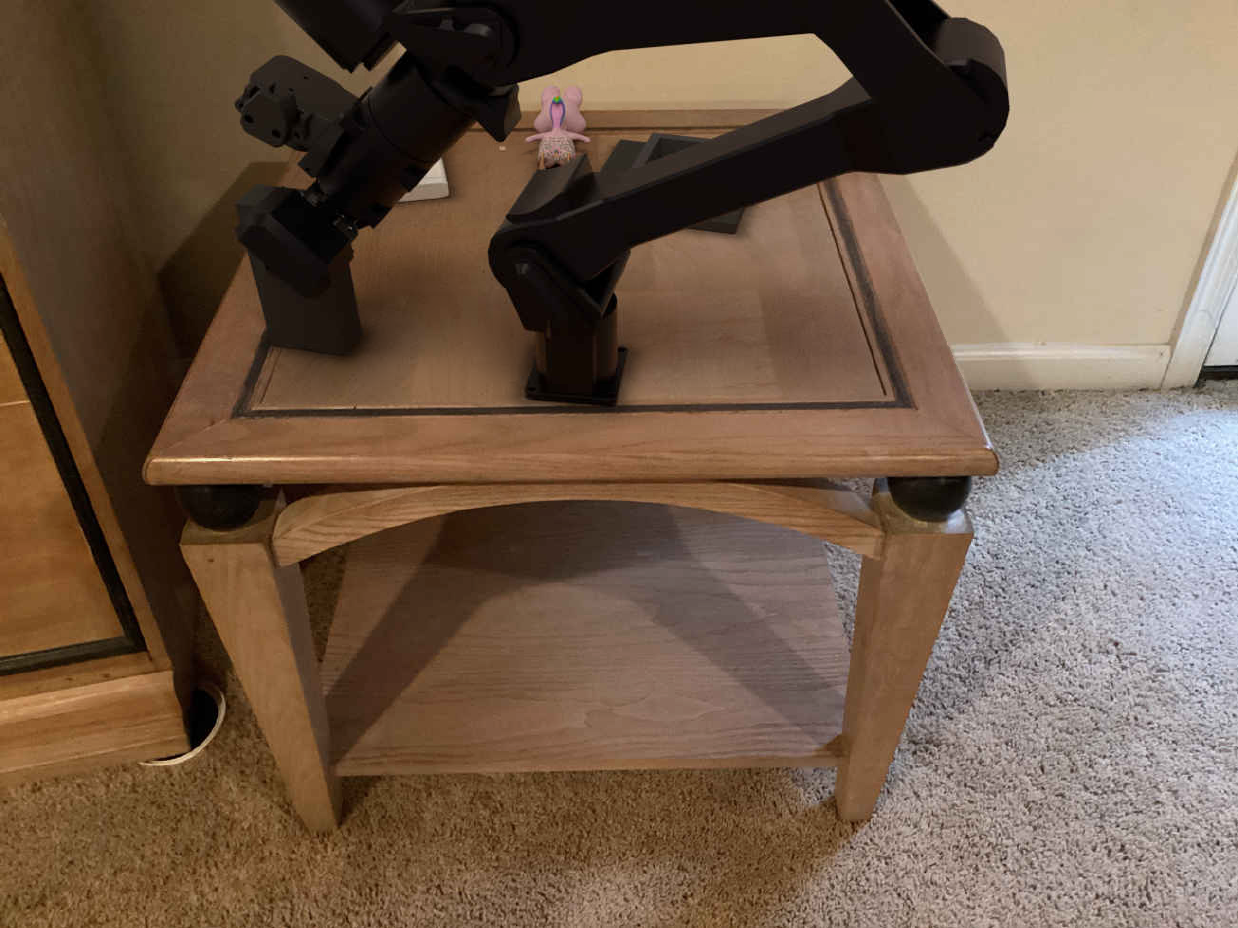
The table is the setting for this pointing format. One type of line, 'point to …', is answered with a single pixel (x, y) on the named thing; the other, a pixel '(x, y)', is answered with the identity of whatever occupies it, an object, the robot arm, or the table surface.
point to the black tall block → (304, 301)
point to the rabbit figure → (559, 126)
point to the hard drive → (430, 185)
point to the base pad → (655, 148)
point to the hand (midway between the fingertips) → (282, 259)
